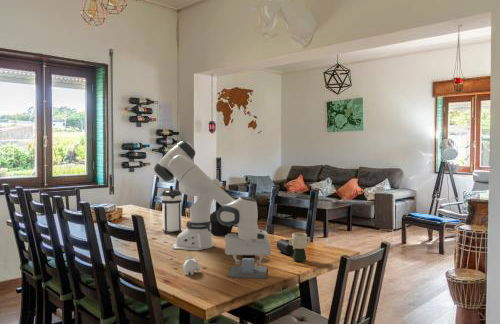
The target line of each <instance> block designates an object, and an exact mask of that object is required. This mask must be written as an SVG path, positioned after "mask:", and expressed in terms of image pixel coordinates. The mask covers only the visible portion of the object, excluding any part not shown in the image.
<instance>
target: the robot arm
mask: <svg viewBox="0 0 500 324" xmlns="http://www.w3.org/2000/svg"><path fill="white" fill-rule="evenodd" d="M195 156H196V150H195V148H194V146H193V145H192V144H191V143H190V142H188V141H186V140H181V141H178V142H177V143H176V145H174V146H173V147H171V148H170V149H169V150H168V151H167V152H166V154H164V155H163V157H162V158H161V159H160V160H159V162H157V163H156V164H155V166H154V168H153V169H154V172H155V175H156V176H157V177H158V179H160V180H161V181H164V182H170V181H172V180H173V179H174V178H175V179H176V180H177V182H178V190H179V191H180V192H181V193H182V194H184V195H186V196H189V197H191V196H193V197H196V198H197V199H196V202H194V203H193V204H191V206H190V207H189V220H187V222H186V223H185V224H186V228H185V229H183V230H182V232H181V231H180V232H181V233H179V234H178V235H177V237H176V242H175V243H173V244H172V245H171V248H172V249H173V250H187V251H200V250H201V251H202V250H205V249H210V248H212V247H214V243H213V239H212V233H211V221H210V214H211V206H212V203H213V200H214V201H215V202H216V201H217V202H218V203H219V204H220V205H221V207H220V208H219V209H218V211H217V219H218V221H219V223H220V224H222V225H224V226H231V225H233V226H234V225H236V226H237V233H232V232H231V233H229V234H227V235H224V243H225V245H224V246H225V248H224V253H225V254H226V256H232V258H233V260H234V261H235V266H240V259H238V258H237V256H242V255H255V256H259V260H257V261H256V266H261V262H262V260H263V258H264V256H270V255H271V254H272V247H271V246H272V245H271V241H270V239H269V234H268V231H266V230H262V229H260V228H259V226H258V215H259V214H258V213H259V211H258V204H257V200H256V199H255V198H253V197H250V196H245V195H243V196H240V197H238V198H234V196H232V195H230V194H229V192H227V191H226V190H225V189H224V190H223V189H222V188H221V186H222V185H221V182H220V180H219V179H218V178H215V177H212V176H208V175H207V174H206V173H205V172H204V171H203V170H202V169H201V168H200V167H199V166H198V165H197V164H196V163H195V162H193V161H192V160H193V159H194V157H195Z"/></svg>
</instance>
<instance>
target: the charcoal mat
mask: <svg viewBox="0 0 500 324" xmlns="http://www.w3.org/2000/svg"><path fill="white" fill-rule="evenodd" d="M267 270H268V266H261V265H256V266H255V265H254V272H253V273H242V265H232V266H231V268H230V271H229V273H228V275H227V278H232V279H233V278H237V279H238V278H239V279H243V278H245V279H266V278H267V272H268V271H267Z"/></svg>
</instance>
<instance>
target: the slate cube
mask: <svg viewBox="0 0 500 324" xmlns="http://www.w3.org/2000/svg"><path fill="white" fill-rule="evenodd" d="M241 266H242V273H253V272H254V266H255V258H242V260H241Z"/></svg>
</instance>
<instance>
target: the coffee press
mask: <svg viewBox="0 0 500 324" xmlns="http://www.w3.org/2000/svg"><path fill="white" fill-rule="evenodd" d="M182 194H183V193H181V192H180V190H179V189H174V186H173V185H170V186H169V189H164V190H163V191H162V192H161V207H162V209H161V211H162V215H161V217H162V232H163V234H164V235H167V234H168V233H170V232H178V233H179V234H180V233H181V232H182V231H183V230H182Z"/></svg>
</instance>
